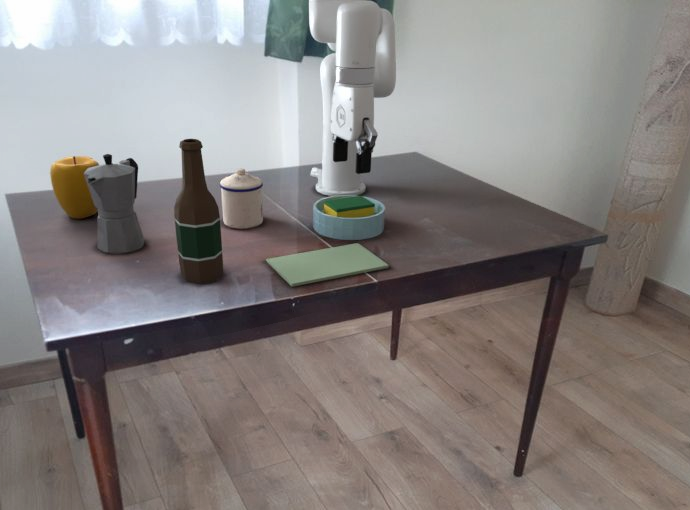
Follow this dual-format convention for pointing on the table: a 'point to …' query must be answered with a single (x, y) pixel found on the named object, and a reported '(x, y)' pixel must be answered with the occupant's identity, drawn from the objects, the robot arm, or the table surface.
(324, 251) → the mat
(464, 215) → the table surface
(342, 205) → the sponge
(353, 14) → the robot arm
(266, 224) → the table surface
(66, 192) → the apple
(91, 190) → the coffeepot
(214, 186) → the table surface
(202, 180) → the beer bottle
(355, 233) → the bowl
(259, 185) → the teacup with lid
